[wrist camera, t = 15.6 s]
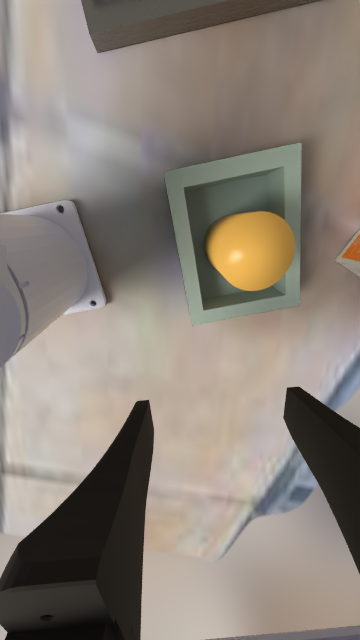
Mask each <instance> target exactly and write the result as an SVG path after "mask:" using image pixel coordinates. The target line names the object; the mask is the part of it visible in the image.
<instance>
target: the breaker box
mask: <svg viewBox="0 0 360 640" xmlns="http://www.w3.org/2000/svg"><path fill="white" fill-rule="evenodd" d="M81 1H82V5H83V9H84V13H85V18H86V22H87V26H88V30H89V34H90V36H91V39H92V41H93V43H94V45H95V48H96V50H97V52H98V53H99V52H103V51H107V50H112V49H116V48H120V47H124V46H129V45H133V44H137V43H141V42H145V41H150V40H154V39H158V38H162V37H167V36H171V35H175V34H179V33H183V32H188V31H192V30H196V29H200V28H205V27H209V26H213V25H217V24H221V23H226V22H230V21H234V20H238V19H243V18H247V17H251V16H255V15H259V14H264V13H268V12H272V11H276V10H281V9H285V8H289V7H293V6H297V5H302V4H306V3H310V2H314V1H319V0H81Z"/></svg>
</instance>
